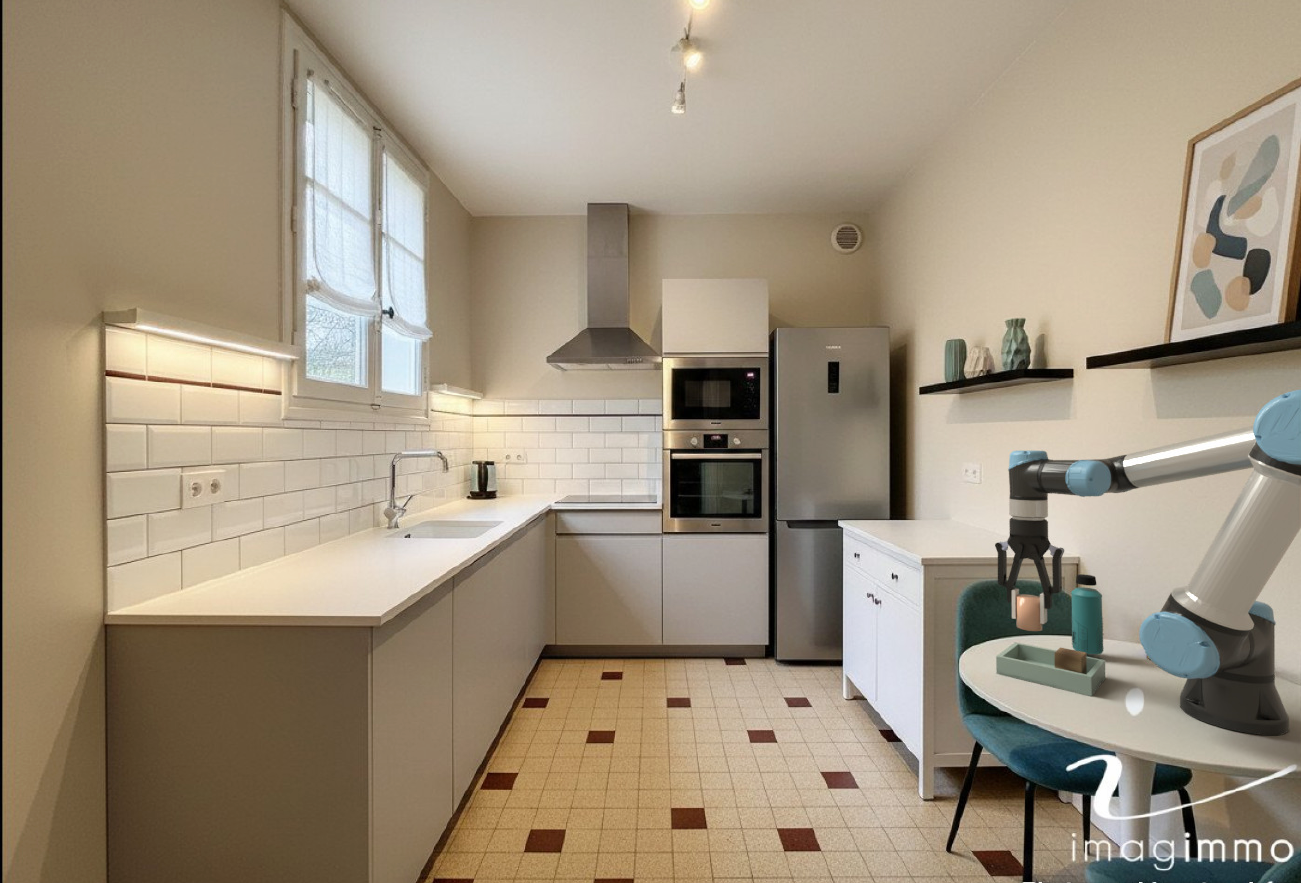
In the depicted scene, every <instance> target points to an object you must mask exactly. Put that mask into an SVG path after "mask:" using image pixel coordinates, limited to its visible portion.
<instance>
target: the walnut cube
mask: <svg viewBox="0 0 1301 883" xmlns="http://www.w3.org/2000/svg"><path fill="white" fill-rule="evenodd" d="M1087 657H1088V656H1087V654H1086V652H1081V651H1076V650H1074V649H1069V648H1065V647H1059V648H1057V651H1056V652H1055V668H1059V669H1063V670H1068V671H1073V672H1077V673H1082V674H1086V675H1087Z"/></svg>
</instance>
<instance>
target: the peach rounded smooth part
mask: <svg viewBox="0 0 1301 883" xmlns="http://www.w3.org/2000/svg"><path fill="white" fill-rule="evenodd" d="M1016 611H1017V618H1016V628H1018V629H1020V630H1024V631H1028V632H1040V631H1041V632H1042V631H1043V624H1041V623H1040V596H1039V595H1033V594H1019V595H1017V596H1016Z"/></svg>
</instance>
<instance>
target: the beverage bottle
mask: <svg viewBox="0 0 1301 883" xmlns="http://www.w3.org/2000/svg"><path fill="white" fill-rule="evenodd" d="M1075 584H1078V585H1082V586H1089V587H1082V586H1081V587H1075V588H1074V589H1073V590H1071V592H1070V593H1071V634H1070V635H1071V645H1072V648H1073V649H1072V650H1076V651H1081V652H1086V655H1102V654H1103V652H1104V633H1103V632H1104V621H1103V620H1104V618H1103V595H1102V593H1101V592H1100V591H1098V590H1097V589H1095V588H1091V587H1090V586H1094V587H1095V586H1097V579H1096V576H1095V575H1092V574H1083V573H1081V574H1077V575H1076V580H1075Z"/></svg>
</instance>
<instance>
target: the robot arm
mask: <svg viewBox="0 0 1301 883" xmlns="http://www.w3.org/2000/svg"><path fill="white" fill-rule="evenodd" d="M1008 462H1009V463H1008V465H1009V466H1008V468H1007V469H1008V470H1007V471H1008V479H1009V480H1008V482H1009V484H1008V485H1009V497H1008V498H1009V502H1008V503H1009V504H1008V506H1009V514H1008V515H1009V516H1010V518H1009V524H1008V525H1009V537H1008V538H1007V540H1006V541H998V542H996V543H994V546H995V549H996V552H997V584H998V585H999V586H1001V587H1002V586H1003V587H1004V588H1005V589H1006V601H1007V603H1010V604H1011V619H1015V620H1017V611H1016V596H1017V595H1020V589H1019V588H1016V586H1017V582H1018V581H1017V580H1018V578H1019V574H1020V570H1021V567H1022V563H1023V562H1024V559H1028V560H1032V561H1033V564H1034V565H1035V567H1036V571H1037V574H1038V579H1039V581H1040V585H1041V588H1042V591H1043V592H1041V593H1039V597H1040V623H1041V624H1042V625H1045V624H1046V623H1047V622H1048V610H1051V609H1052V607H1053V594H1059V593H1061V592H1062V591H1063V580H1062V579H1063V574H1062V572H1063V570H1062V557H1063V555H1064V553H1065V548H1064V547H1057V546H1055V545H1052V544H1051V542H1050V540H1049V521H1048V520H1047V519H1046V518H1048V517H1049V503H1048V501H1049V500H1048V497H1049V494H1050V495H1051V494H1055V495H1056V494H1057V495H1069V496H1076V497H1078V496H1079V497H1083V498H1085V497H1101V496H1103V495H1104V494H1108V493H1109V494H1110V493H1113V494H1119V493H1125V492H1126V493H1127V492H1128V491H1132V490H1136V489H1140V488H1147V487H1153V486H1158V485H1162V484H1168V483H1174V482H1180V481H1185V480H1190V479H1197V478H1203V477H1208V476H1215V475H1220V474H1224V473H1226V474H1227V473H1231V472H1235V471H1243V470H1248V469H1249V470H1250V469H1253V470H1252V472H1251V474H1250V475H1249V477H1248V479H1247V481H1246V482H1245V484H1244V486H1243V488H1242V490H1241V491H1240V493H1239V494H1238V497H1237V498H1236V499H1235V502H1234V504H1233V506H1231V509H1230V510H1229V512H1228V514H1227V516H1226V517H1225V519H1224V521H1223V523H1222V525H1221V527H1220V528H1219V530H1218V532H1217V533H1216V535H1215V537H1214V538H1213V540H1212V543H1211V544H1210V546H1209V547H1208V549H1207V551H1206V553H1205V554H1204V556H1203V557H1202V560H1201V561H1200V563H1199V565H1198V567H1197V568H1196V569H1195V570H1196V571H1195V572H1194V574H1193V576H1192V577H1191V579H1190V581H1189V583H1188V584H1187V586H1180V587H1176V588H1173V589H1172V590H1171V592H1170V593H1169V595H1168V597H1167V599H1166V601H1165V603H1164V604H1163V606H1162V608H1161V610H1160V611H1158V612H1154V613H1153V612H1152V613H1151V615H1148V616H1147V617H1146V618H1145V619H1144V620H1143V621H1142V622H1141V624H1140V628H1139V633H1138V634H1139V635H1138V636H1139V642H1140V645H1141V646H1142V648H1143V650H1144V652H1145V654H1146V657H1147V656H1148V657H1149V658H1150V659H1151V660H1150V661H1151V662H1152V663H1153V664H1155V665H1156V666H1157V667H1158V668H1159V669H1161V670H1162V671H1164V672H1165V673H1167V674H1170V675H1171V676H1174V677H1176V678H1177V677H1178V678H1182V679H1186V682H1185V683H1184V685H1183V688H1182V690H1181V692H1180V696H1179V704H1180V705H1179V706H1180V708H1181V710H1182V711H1183V712H1184V713H1186V714H1187V715H1189V716H1190V717H1192V718H1195V719H1197V720H1199V721H1201V722H1204V723H1206V724H1209V725H1213V726H1215V727H1220V728H1222V729H1223V728H1224V729H1226V730H1230V731H1235V732H1240V733H1246V734H1253V735H1260V736H1261V735H1262V736H1279V735H1280V736H1281V735H1283V734H1286V733H1288V732H1289V730H1290V726H1289V725H1290V724H1289V722H1290V721H1289V719H1290V718H1289V715H1288V713H1287V710H1286V708H1285V705H1284V703H1283V701H1282V699H1281V697H1280V694H1279V692H1278V690H1277V687H1276V683H1275V678H1276V677H1275V675H1276V674H1275V672H1276V671H1275V670H1276V668H1275V667H1276V665H1275V662H1276V661H1275V660H1276V658H1275V656H1276V655H1275V654H1276V653H1275V652H1276V651H1275V650H1276V649H1275V646H1276V645H1275V642H1276V641H1275V637H1276V636H1275V626H1276V625H1277V624H1276V621H1275V617H1274V610H1273V608H1272V606H1270V605H1269V604H1268V603H1265V602H1261V601H1257V599H1258V597H1259V596H1260V594H1261V592H1262V591H1263V590H1264V588H1265V586H1266V585H1267V583H1268V581H1269V580H1270V577H1272V575H1273V573H1274V571H1275V570H1276V568H1277V567H1278V565H1279V563H1280V562H1281V561H1282V559H1283V557H1284V556H1285V554H1286V553H1287V551H1288V549H1290V548H1289V547H1291V545H1292V543H1293V542H1294V540H1295V538H1296V537H1297V535H1298V534H1299V532H1300V530H1301V389H1295V390H1291V391H1288V392H1285V393H1282V394H1280V395H1278V396H1276V397H1274V398H1272V399H1271V400H1269V401H1268V402H1267V403H1266V404H1264V405H1263V406H1262V408H1261V409H1260V410H1259V412H1257V414H1256V416H1255V419H1254V422H1253V425H1251V426H1247V427H1241V428H1238V429H1233V430H1228V431H1223V432H1220V433H1214V434H1211V435H1207V436H1206V435H1205V436H1201V437H1198V438H1193V439H1188V440H1184V441H1181V442H1175V443H1171V444H1166V445H1163V446H1157V447H1154V448H1149V449H1145V450H1139V451H1136V452H1131V453H1127V454H1123V455H1118V456H1113V457H1109V458H1101V459H1095V458H1093V459H1049V456H1048V452H1047V451H1045V450H1013V451H1012V452H1010V453H1009V461H1008ZM1009 548H1010V549H1011V551H1012V552H1013V553H1014V556H1013V561H1012V563H1011V564H1012V565H1011V568H1010V572H1009V575H1008V572H1007V568H1008V567H1007V566H1008V563H1007V562H1008V561H1007V559H1008V554H1007V551H1008V550H1009ZM1048 551H1049V552H1050V555H1051V556H1052V560H1051V562H1052V563H1051V564H1052V565H1051V566H1052V583H1051V581H1050V580H1051V579H1050V576H1049V574H1048V570H1047V566H1046V564H1045V557H1044V555H1045V554H1046V553H1047V552H1048ZM1007 575H1008V577H1007Z"/></svg>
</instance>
